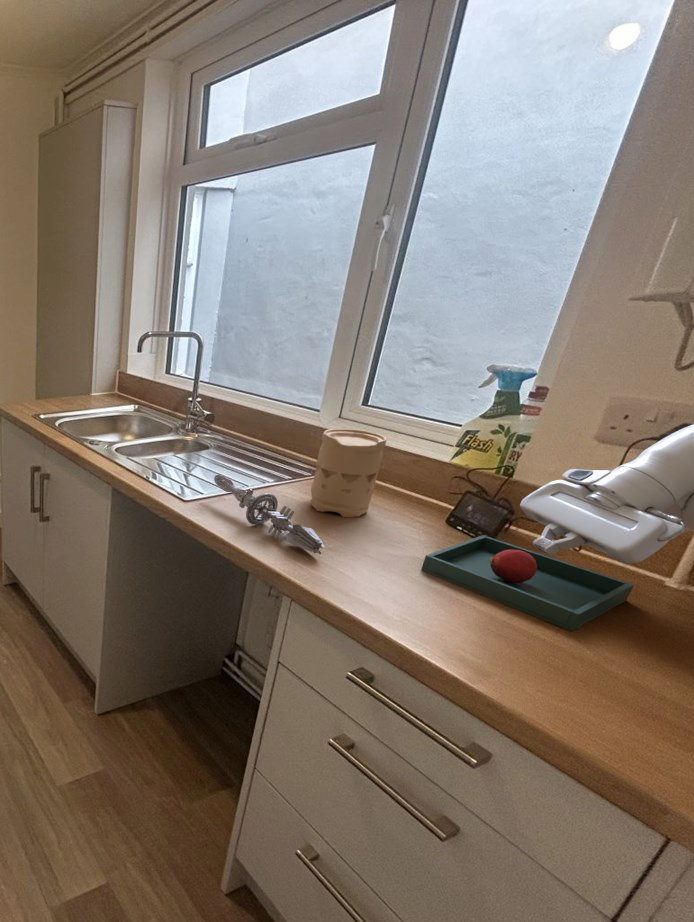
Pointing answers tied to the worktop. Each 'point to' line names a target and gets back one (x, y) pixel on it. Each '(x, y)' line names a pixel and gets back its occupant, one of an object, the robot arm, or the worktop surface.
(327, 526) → the worktop surface
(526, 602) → the tray
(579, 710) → the worktop surface
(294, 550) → the worktop surface
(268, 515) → the spaceship
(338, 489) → the container
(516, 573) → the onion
